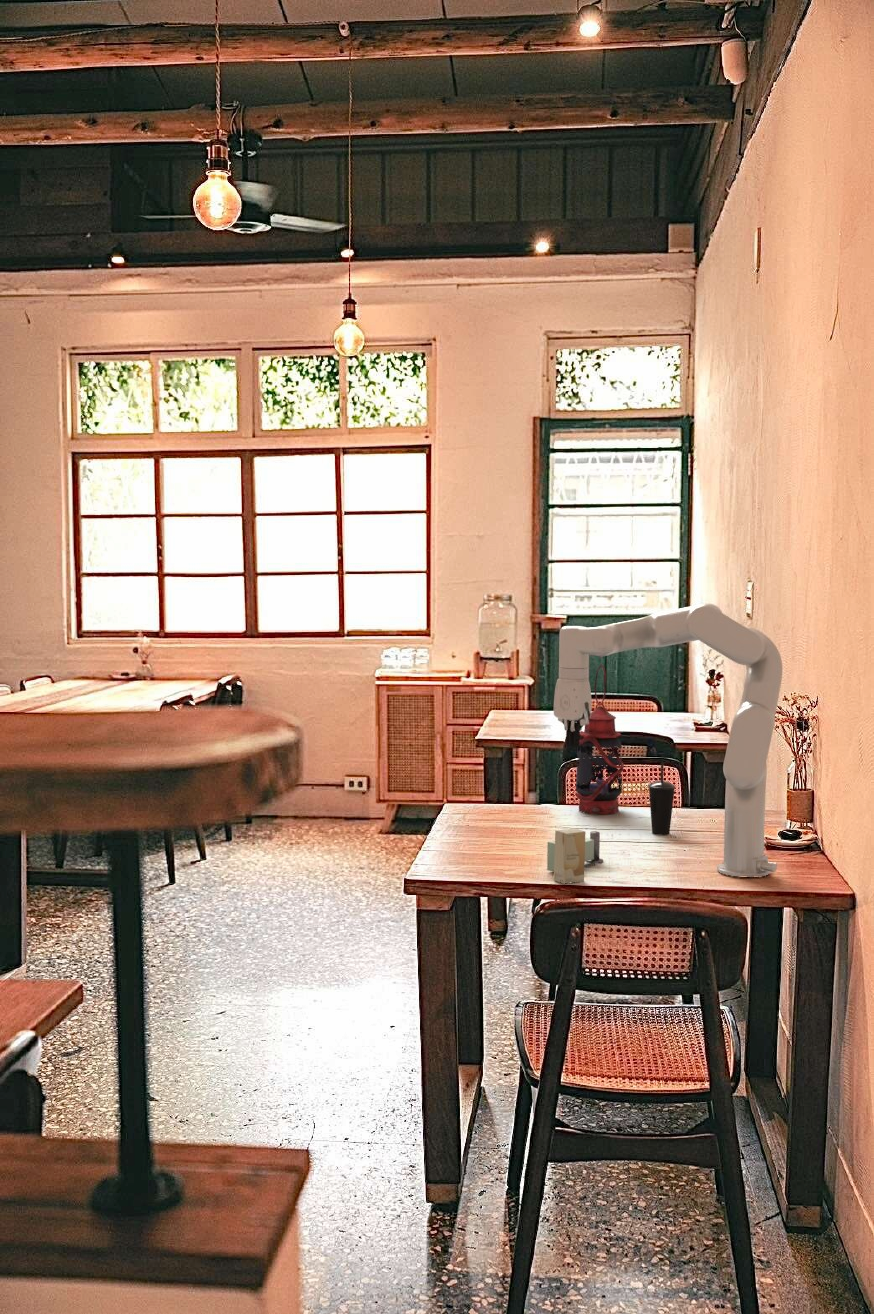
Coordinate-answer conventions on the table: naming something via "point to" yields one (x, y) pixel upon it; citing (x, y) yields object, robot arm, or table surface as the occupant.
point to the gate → (551, 853)
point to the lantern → (599, 735)
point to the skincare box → (569, 855)
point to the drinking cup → (661, 805)
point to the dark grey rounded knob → (595, 847)
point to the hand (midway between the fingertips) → (572, 746)
